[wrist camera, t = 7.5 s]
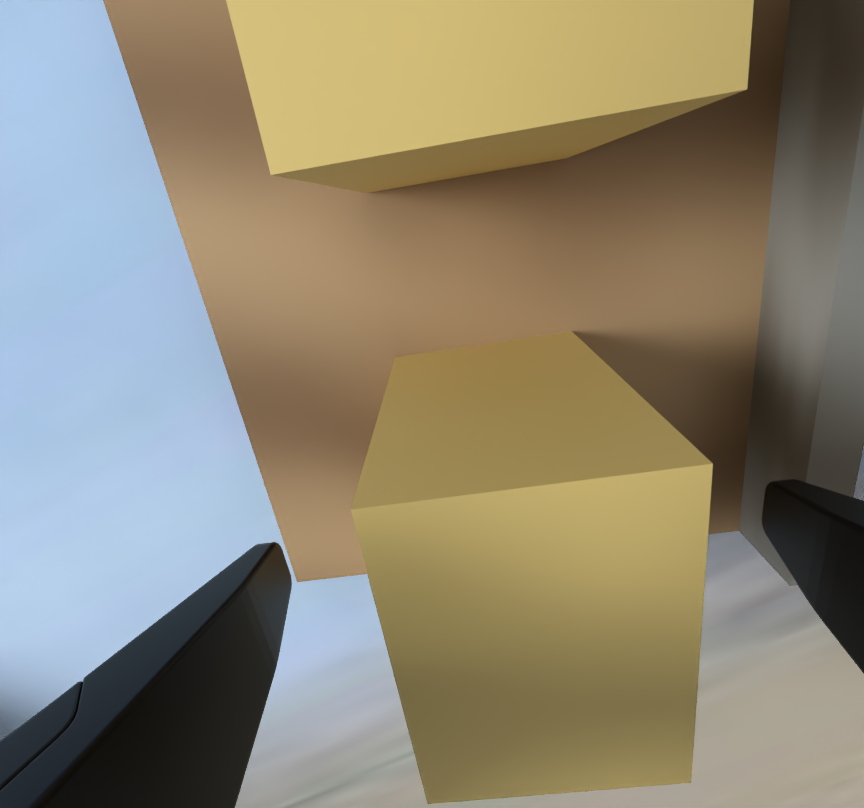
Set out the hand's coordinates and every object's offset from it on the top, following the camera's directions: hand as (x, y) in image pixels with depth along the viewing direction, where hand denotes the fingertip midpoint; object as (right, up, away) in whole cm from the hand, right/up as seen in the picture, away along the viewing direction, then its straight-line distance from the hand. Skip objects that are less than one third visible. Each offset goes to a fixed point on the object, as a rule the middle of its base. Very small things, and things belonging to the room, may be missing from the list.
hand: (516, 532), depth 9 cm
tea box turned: (0, +1, +3) cm, 3 cm away
